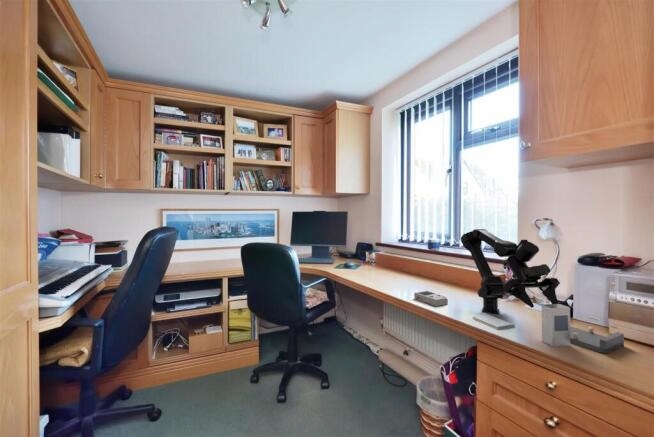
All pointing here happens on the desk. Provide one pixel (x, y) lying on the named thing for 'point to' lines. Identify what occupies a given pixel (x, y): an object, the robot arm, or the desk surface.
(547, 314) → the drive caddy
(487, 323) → the hard drive
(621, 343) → the drive dock
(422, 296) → the handheld gaming device
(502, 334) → the desk surface
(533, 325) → the desk surface
